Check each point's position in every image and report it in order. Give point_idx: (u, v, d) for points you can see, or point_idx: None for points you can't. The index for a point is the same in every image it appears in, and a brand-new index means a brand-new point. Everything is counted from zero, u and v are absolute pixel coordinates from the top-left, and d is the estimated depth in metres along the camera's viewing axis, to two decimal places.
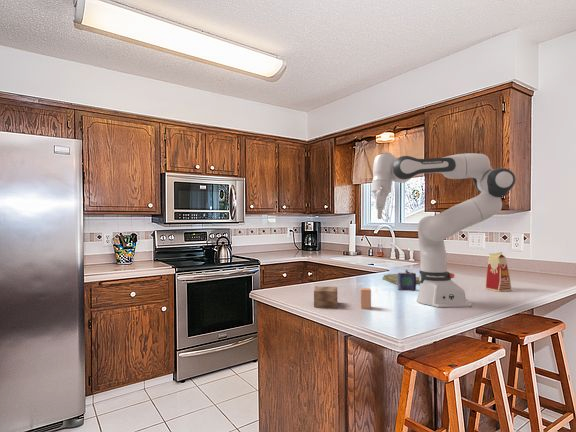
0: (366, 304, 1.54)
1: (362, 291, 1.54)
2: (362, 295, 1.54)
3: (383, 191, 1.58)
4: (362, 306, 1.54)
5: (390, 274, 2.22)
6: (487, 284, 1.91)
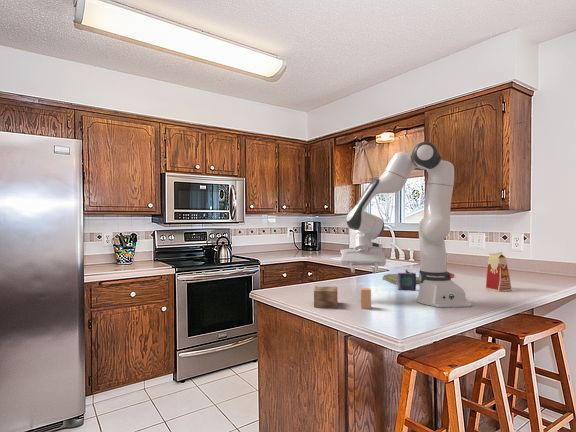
0: (366, 304, 1.54)
1: (362, 291, 1.54)
2: (362, 295, 1.54)
3: None
4: (362, 306, 1.54)
5: (390, 274, 2.22)
6: (487, 284, 1.91)
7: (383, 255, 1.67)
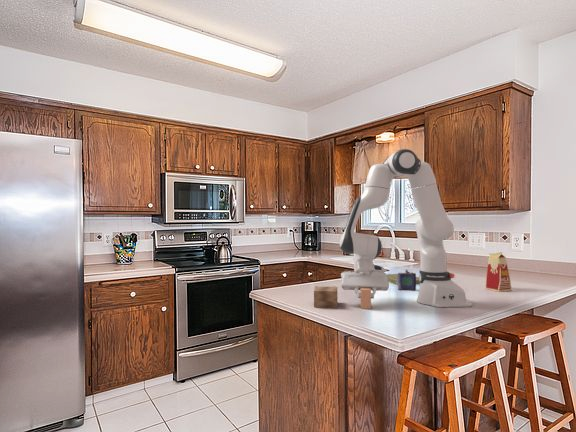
0: (366, 304, 1.54)
1: (362, 291, 1.54)
2: (362, 295, 1.54)
3: None
4: (362, 306, 1.54)
5: (390, 274, 2.22)
6: (487, 284, 1.91)
7: (386, 279, 1.58)
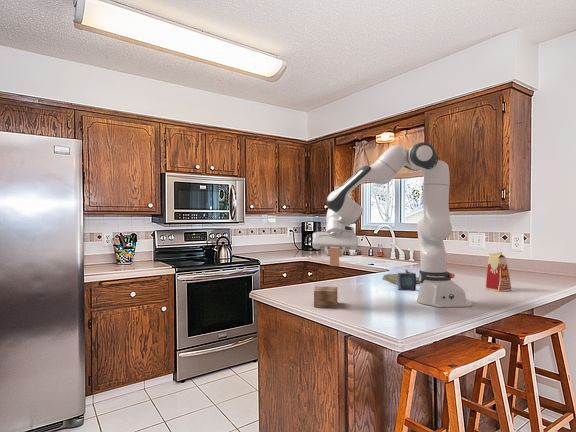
0: (335, 262, 1.58)
1: (331, 249, 1.58)
2: (331, 252, 1.58)
3: None
4: (331, 263, 1.58)
5: (390, 274, 2.22)
6: (487, 284, 1.91)
7: (355, 239, 1.62)
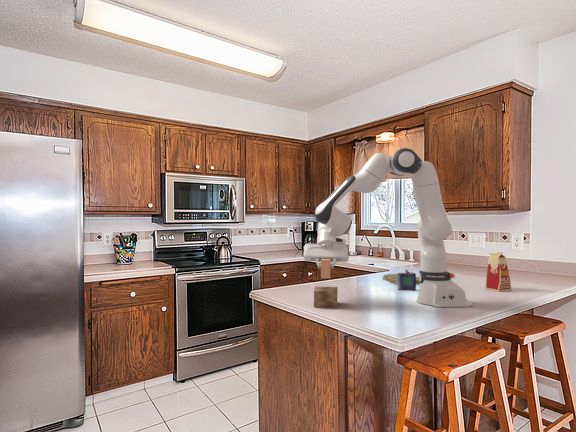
0: (326, 274, 1.59)
1: (322, 261, 1.59)
2: (322, 265, 1.59)
3: None
4: (322, 275, 1.59)
5: (390, 274, 2.22)
6: (487, 284, 1.91)
7: (346, 250, 1.63)
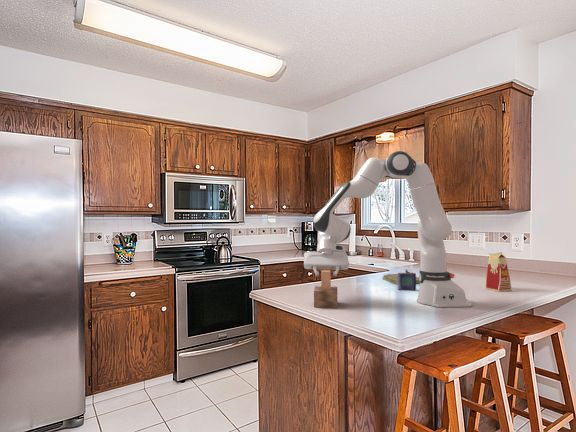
0: (326, 285, 1.59)
1: (322, 273, 1.59)
2: (322, 276, 1.59)
3: None
4: (322, 287, 1.59)
5: (390, 274, 2.22)
6: (487, 284, 1.91)
7: (346, 258, 1.63)
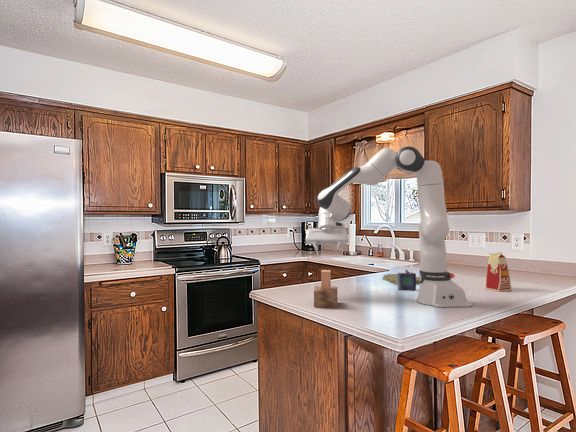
0: (326, 285, 1.59)
1: (322, 273, 1.59)
2: (322, 276, 1.59)
3: None
4: (322, 287, 1.59)
5: (390, 274, 2.22)
6: (487, 284, 1.91)
7: (345, 234, 1.74)
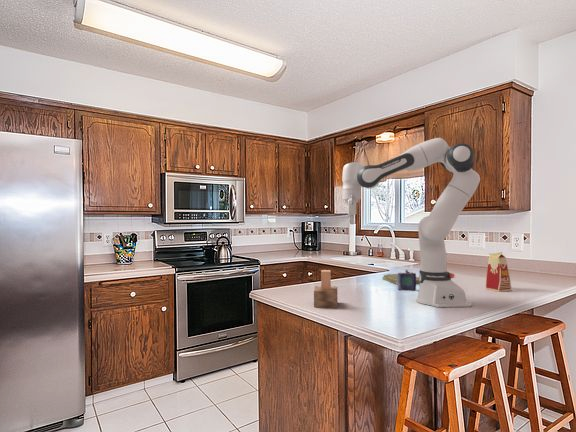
0: (326, 285, 1.59)
1: (322, 273, 1.59)
2: (322, 276, 1.59)
3: (354, 200, 1.68)
4: (322, 287, 1.59)
5: (390, 274, 2.22)
6: (487, 284, 1.91)
7: None
